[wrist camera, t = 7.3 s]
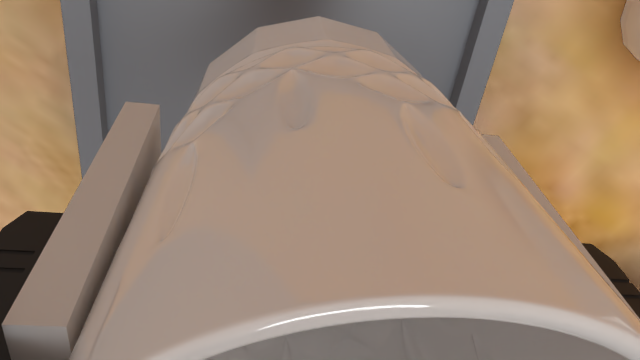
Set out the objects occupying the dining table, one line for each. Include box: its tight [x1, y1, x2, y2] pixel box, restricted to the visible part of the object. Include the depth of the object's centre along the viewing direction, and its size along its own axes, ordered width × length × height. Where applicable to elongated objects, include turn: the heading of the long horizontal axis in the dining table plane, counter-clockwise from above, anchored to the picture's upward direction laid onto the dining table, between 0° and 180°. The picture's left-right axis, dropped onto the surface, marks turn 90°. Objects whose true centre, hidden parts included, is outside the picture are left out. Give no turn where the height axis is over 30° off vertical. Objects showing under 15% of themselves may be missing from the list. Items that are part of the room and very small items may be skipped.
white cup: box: [68, 16, 640, 360], centre depth 10 cm, size 8×8×10 cm
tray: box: [60, 0, 514, 179], centre depth 24 cm, size 20×20×2 cm
